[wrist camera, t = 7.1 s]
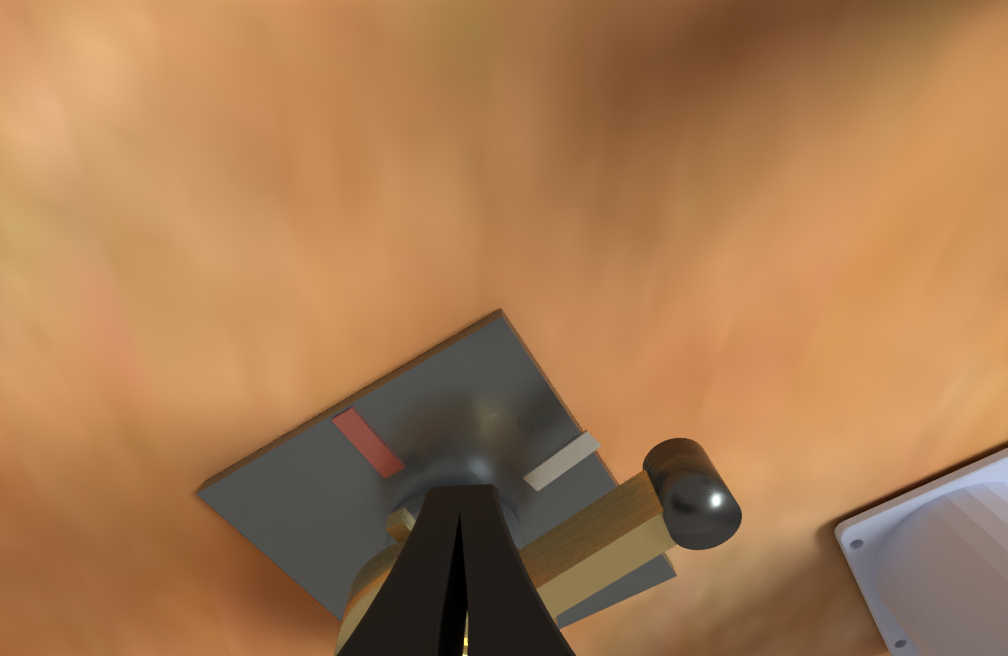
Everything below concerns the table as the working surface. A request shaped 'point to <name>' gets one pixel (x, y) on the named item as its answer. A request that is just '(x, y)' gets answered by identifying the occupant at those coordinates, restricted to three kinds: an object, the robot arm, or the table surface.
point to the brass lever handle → (603, 533)
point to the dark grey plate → (422, 466)
